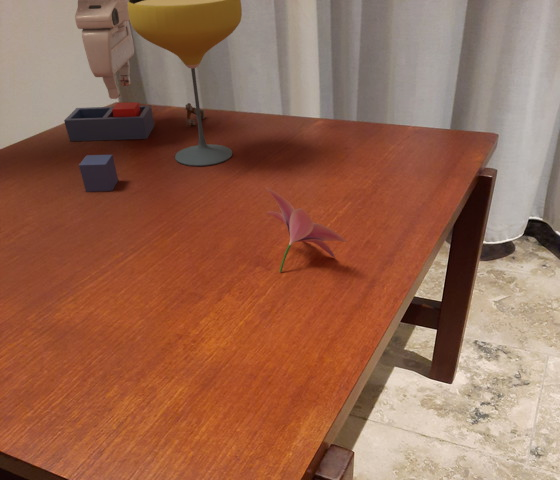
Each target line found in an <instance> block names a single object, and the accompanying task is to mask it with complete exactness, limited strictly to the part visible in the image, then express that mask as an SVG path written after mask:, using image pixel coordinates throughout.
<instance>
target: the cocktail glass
mask: <svg viewBox="0 0 560 480" xmlns="http://www.w3.org/2000/svg"><path fill="white" fill-rule="evenodd" d="M242 12H243V10H242V1H241V0H128V13H129V19H130V20H129V23H130V24H131V27H132V29H133V31H135V32H136V34H138V35H139V36H140V37H141V38H143V39H144V40H146V41H147V42H148V43H151V44H154V45H155V46H157V47H159V48H161V49H164V50H165V51H168V52H171V54H174V55H175V56H177V57H178V59H180V60H181V62H182V63H183V64H184V65H185V67H187V68H188V69H190V71H191V78H192V87H193V94H194V95H193V96H194V102H195V108H196V112H197V118H196V121H197V128H198V144H197V145H191V146H188V147H185V148H183V149H180V150H179V151H177V152H176V154H174V155H175V156H174V159H175V161H176V162H177V163H178V164H180V165H183V166H189V167H208V166H209V167H210V166H216V165H219V164H223V163H224V162H227V161H228V160H229V159H231V158H232V156H233V150H232V149H231V148H230V147H227V146H225V145H220V144H213V143H210V144H208V143H207V141H206V137H205V133H204V129H203V122H202V118H201V114H200V109H201V108H200V101H199V92H198V84H197V76H196V69H197V68H198V67H199V66H200V64H201V63H202V60H203V58H204V56H205V55H206V54H207V53H208V52H209V51H210V50H211V49H213V48H214V47H215V46H217V45H218V44H220V43H221V42H222V41H224V40H226V39H227V38H228V37H229V36H230V35H231V34H233V32H235V30H236V29H237V28H238V26H239V25H240V23H241V21H242V15H243V13H242Z"/></svg>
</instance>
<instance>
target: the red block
mask: <svg viewBox="0 0 560 480" xmlns="http://www.w3.org/2000/svg"><path fill="white" fill-rule="evenodd" d="M140 106H141V105H140V103H139V102H138V101H137V102H133V101H132V102H117V103H116V104H115V105H114V106H113V107H114V108H113V109H112V111H113V116H114V117H137V116H140V114H141V112H140Z"/></svg>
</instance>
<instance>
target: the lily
mask: <svg viewBox="0 0 560 480" xmlns="http://www.w3.org/2000/svg"><path fill="white" fill-rule="evenodd" d="M264 189H265V190H266V192H268V194H269V195H270V196H271V197H272V198H273V200H274V201H275V203H276V204H277V206H278V208H279V210H280V212H279V211H275V210H269V211H266V214H268V215H269V216H271V217H273V218H275V219H277V220H279V221H280V222H282V223H283V224H285V226H286V228H287V232H288V235H289V243H288V245H287V247H286V249H285V251H284V254H283V258H282V260H281V265H280V268H279V273H283V268H284V265H285V262H286V258H287V255H288V253H289V250H290V248H291V247H292V245H293V244H295V243H300V242H302V243H303V242H304V243H305V242H306V243H313V244H316V245H317V246H318V247H320V248H321V249H322V250H324V251H325V252H326V253H328V255H330V256H331V257H332V258H334V259H336V255H335V254H334V252H333V250H332V249H331V248H330V246H329V245H328V244H327V243H326V242H329V241H330V242H331V241H336V242H341V243H348V240H347V239H346V238H344V237H343V236H342V235H341V234H340V233H338V232H337V231H335V230H333V229H332V228H331V227H329V226H326V225H324V224H321V223H318V222H313V219H312V217H311V215H310V214H309V213H308V211H307V210H305V209H304V208H302V207H299V208H295V207H294V206H293V205H292V203H290V202H289V200H287V199H286V198H285V197H283V196H282V195H281V194H279V193H278V192H276V191H274V190H273V189H271V188H269V187H268V186H264Z"/></svg>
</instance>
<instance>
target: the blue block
mask: <svg viewBox="0 0 560 480" xmlns="http://www.w3.org/2000/svg"><path fill="white" fill-rule="evenodd" d="M78 168H79V171H80V176H81V179H82V183H83V186H84V189H85V192H86V193H87V192H88V193H89V192H112V191H113V190H114V189H115V187H116V185H117V184H118V183H119V177H118V173H117V169H116V164H115V159H114V156H113V154H87V155H85V157H84V158H83V159H82V161H81V162H80V163H79V164H78Z"/></svg>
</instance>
